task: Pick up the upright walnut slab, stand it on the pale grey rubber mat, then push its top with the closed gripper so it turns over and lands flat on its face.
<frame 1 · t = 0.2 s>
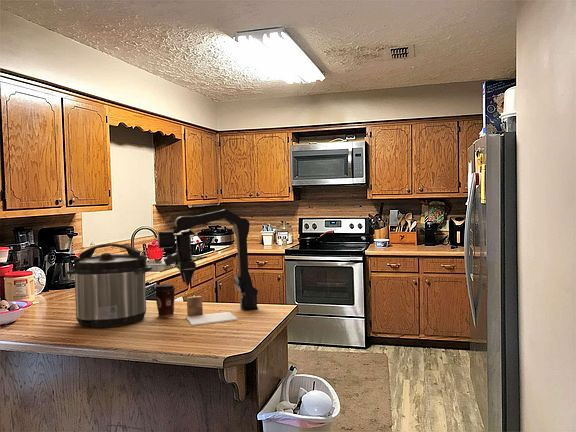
hand: (186, 283, 198), 14 cm above the countertop, tool pointing down, fingers open, 9 cm apart
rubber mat: (211, 319, 192), on the countertop
coffee cup: (165, 316, 202), on the countertop
walnut slab: (195, 316, 198), on the countertop
pressure cooker: (113, 321, 196), on the countertop
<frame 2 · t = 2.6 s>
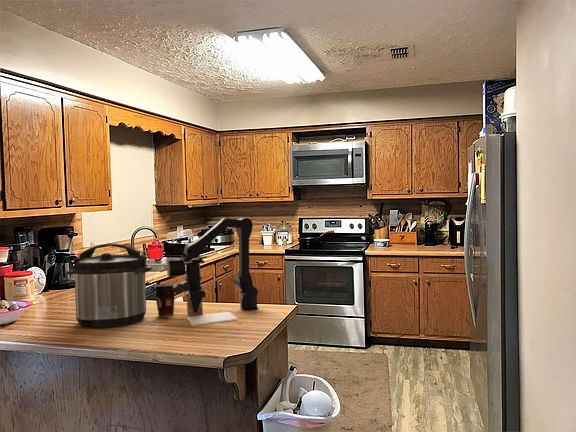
hand: (195, 311, 198), 2 cm above the countertop, tool pointing down, fingers closed on walnut slab, 2 cm apart
walnut slab: (195, 316, 198), on the countertop, touching gripper
everything else where it was.
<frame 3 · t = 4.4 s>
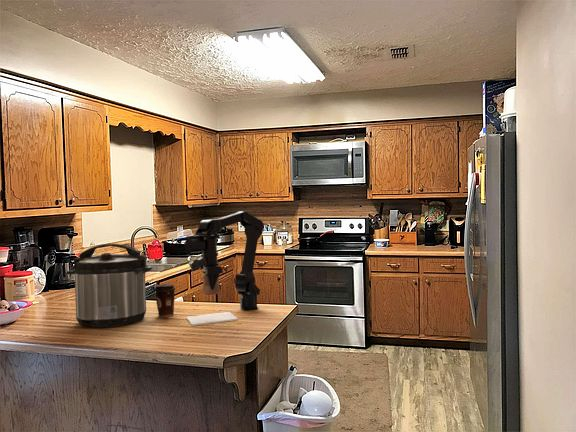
hand: (211, 289, 194), 12 cm above the countertop, tool pointing down, fingers closed on walnut slab
walnut slab: (211, 294, 194), point 10 cm above the countertop, touching gripper
everything else where it was.
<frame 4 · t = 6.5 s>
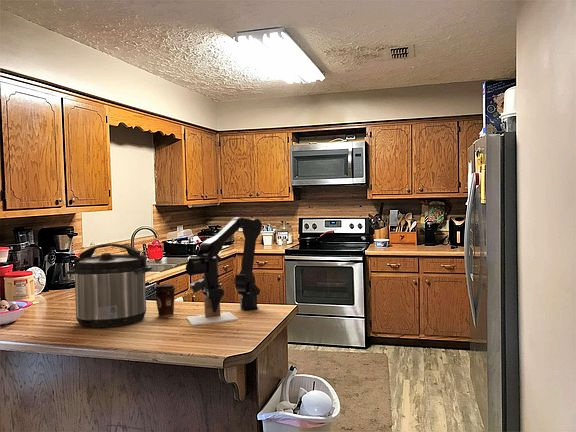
hand: (212, 310, 194), 3 cm above the countertop, tool pointing down, fingers open, 6 cm apart
walnut slab: (212, 316, 194), point 1 cm above the countertop, touching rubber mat
everything else where it was.
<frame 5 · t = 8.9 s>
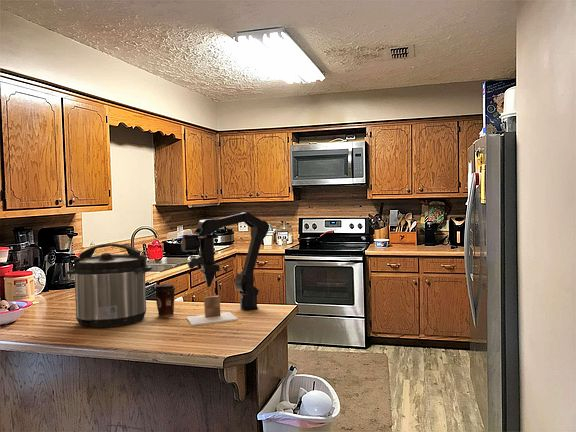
hand: (208, 286, 199), 12 cm above the countertop, tool pointing down, fingers closed
nothing on the countertop moved.
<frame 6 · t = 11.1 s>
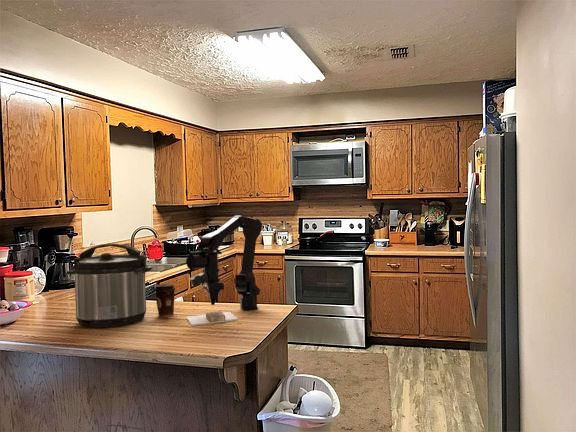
hand: (212, 304, 193), 6 cm above the countertop, tool pointing down, fingers closed
walnut slab: (213, 314, 193), point 2 cm above the countertop, tilted 90°, touching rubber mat
everything else where it was.
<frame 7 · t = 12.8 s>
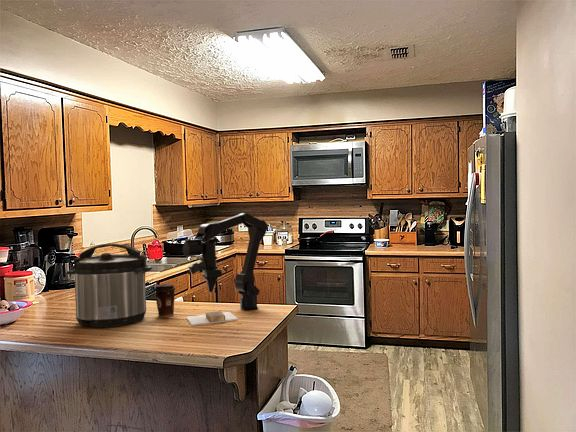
hand: (210, 292, 197), 10 cm above the countertop, tool pointing down, fingers closed
nothing on the countertop moved.
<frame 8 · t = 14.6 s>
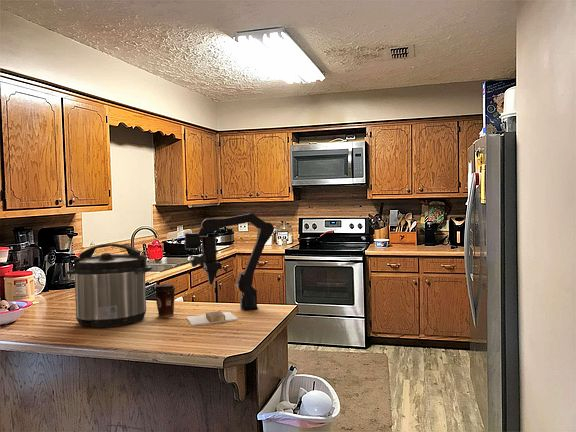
hand: (211, 284, 204), 12 cm above the countertop, tool pointing down, fingers closed
nothing on the countertop moved.
at the end: walnut slab tilted 90°; walnut slab inside the target area (3.0 cm from its centre), point 1.6 cm above the countertop; the gripper is holding nothing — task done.
